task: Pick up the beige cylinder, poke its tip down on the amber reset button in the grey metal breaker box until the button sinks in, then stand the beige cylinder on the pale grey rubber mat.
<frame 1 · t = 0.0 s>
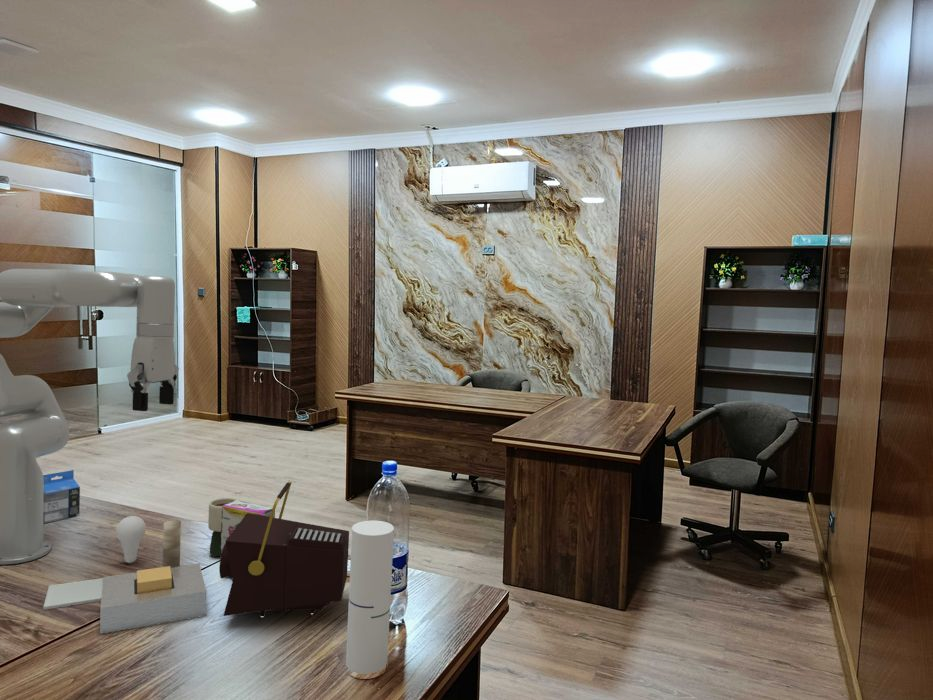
hand: (153, 407, 139), 37 cm above the table, tool pointing down, fingers open, 9 cm apart
candy bar box: (246, 577, 140), on the table
character mug: (223, 554, 151), on the table
dark brown boxy piece: (286, 609, 127), on the table
lightbulb: (130, 563, 144), on the table
mat: (75, 594, 127), on the table
cylindrical container: (366, 668, 108), on the table
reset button: (154, 581, 123), point 6 cm above the table, slide at 0.0 cm
beige cylinder: (171, 574, 139), on the table
ink cartridge box: (59, 519, 169), on the table
breaker box: (153, 608, 124), on the table
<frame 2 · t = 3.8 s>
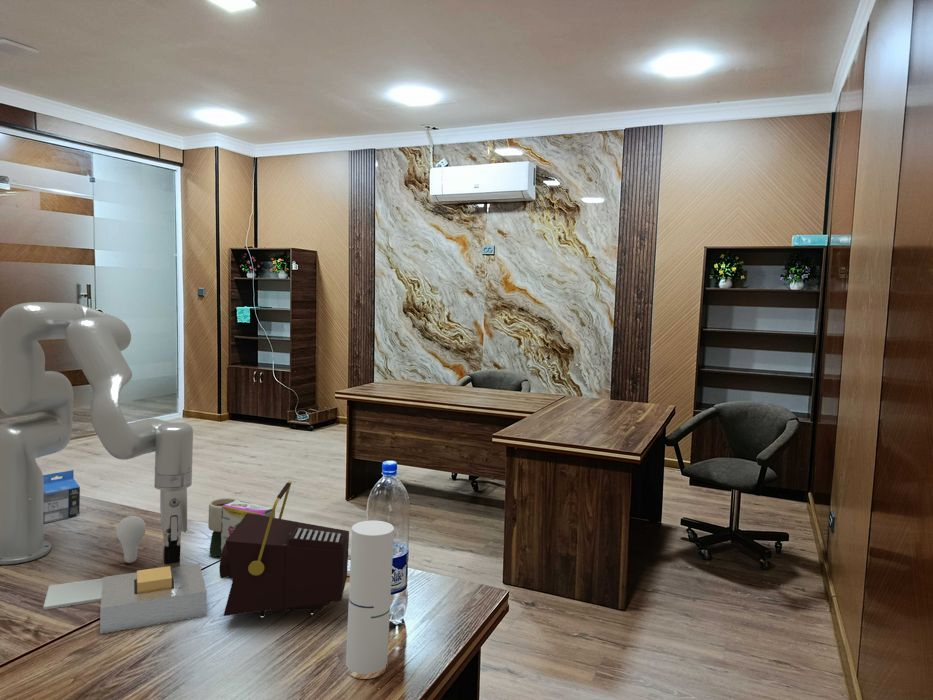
hand: (171, 558, 138), 4 cm above the table, tool pointing down, fingers closed on beige cylinder, 3 cm apart
beige cylinder: (171, 574, 139), on the table, touching gripper
everything else where it was.
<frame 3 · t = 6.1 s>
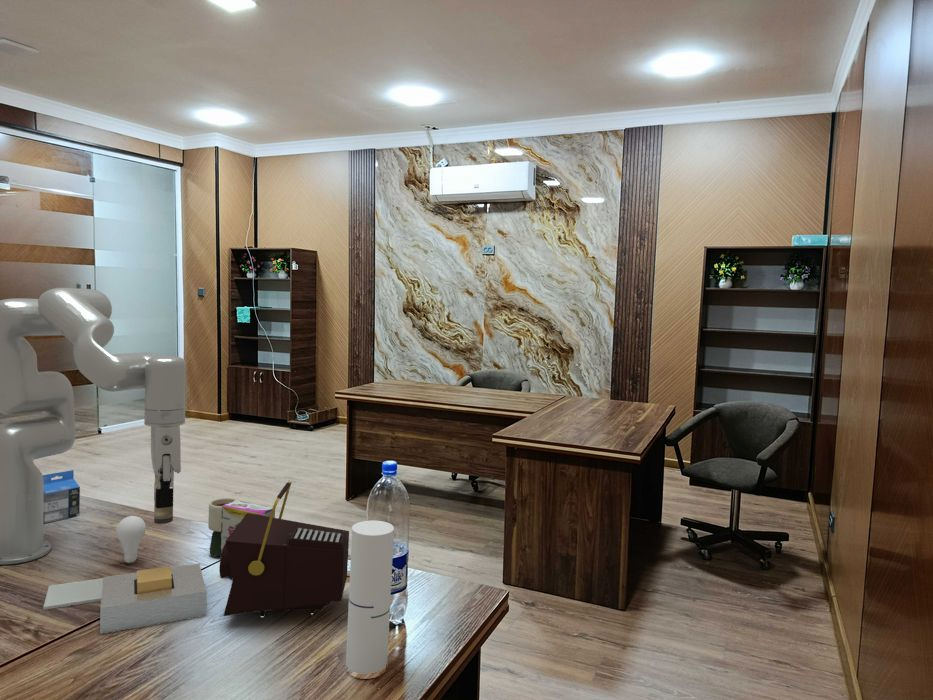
hand: (163, 503, 128), 20 cm above the table, tool pointing down, fingers closed on beige cylinder, 3 cm apart
beige cylinder: (163, 521, 128), point 16 cm above the table, touching gripper
everything else where it was.
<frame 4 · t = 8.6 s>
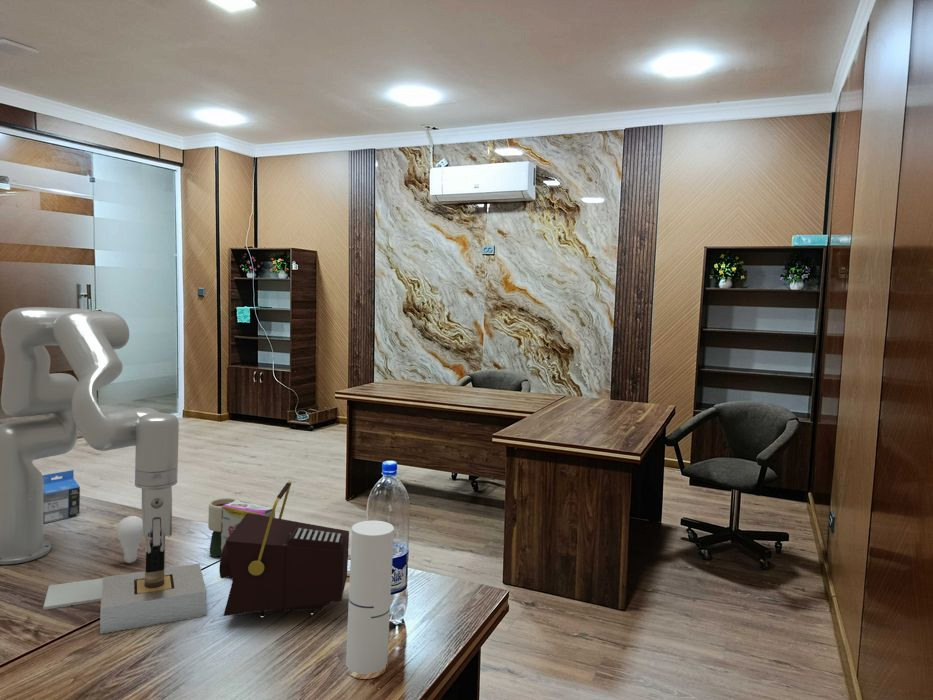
hand: (154, 565, 123), 9 cm above the table, tool pointing down, fingers closed on beige cylinder, 3 cm apart
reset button: (153, 591, 123), point 3 cm above the table, slide at 2.0 cm, touching beige cylinder
beige cylinder: (154, 584, 123), point 5 cm above the table, touching gripper, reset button
everything else where it was.
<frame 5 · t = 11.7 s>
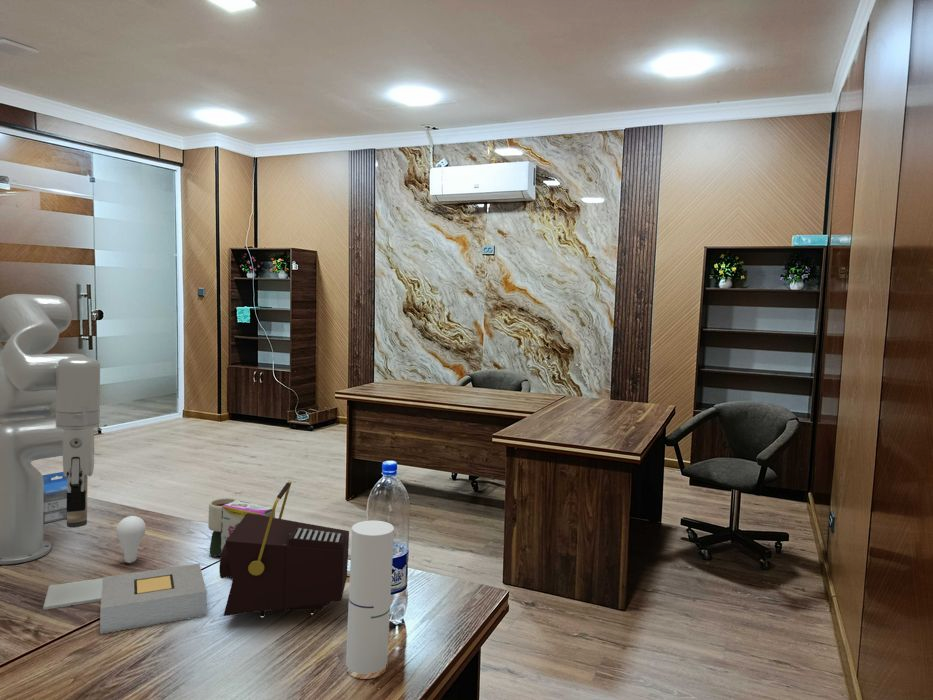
hand: (76, 506, 126), 19 cm above the table, tool pointing down, fingers closed on beige cylinder, 3 cm apart
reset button: (153, 591, 123), point 3 cm above the table, slide at 2.0 cm
beige cylinder: (76, 524, 126), point 15 cm above the table, touching gripper
everything else where it was.
when the fingers open (5 cm above the table, at t = 14.9 s): beige cylinder stays where it is, resting on mat.
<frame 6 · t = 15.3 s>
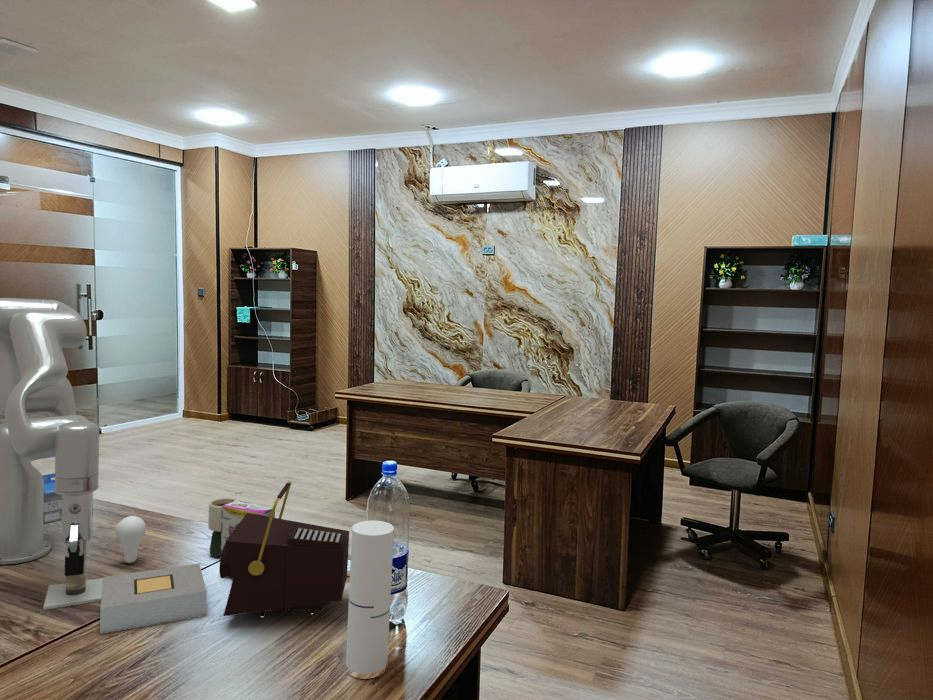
hand: (75, 565, 127), 6 cm above the table, tool pointing down, fingers open, 8 cm apart
beige cylinder: (75, 591, 127), point 1 cm above the table, touching mat
everything else where it was.
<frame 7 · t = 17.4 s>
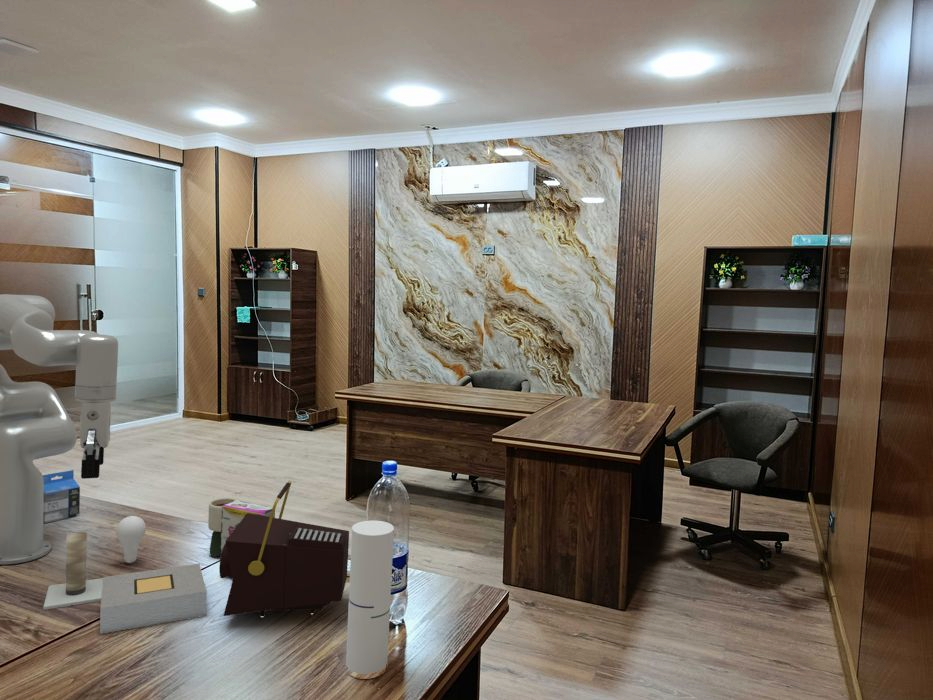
hand: (92, 471, 133), 24 cm above the table, tool pointing down, fingers open, 9 cm apart
nothing on the table moved.
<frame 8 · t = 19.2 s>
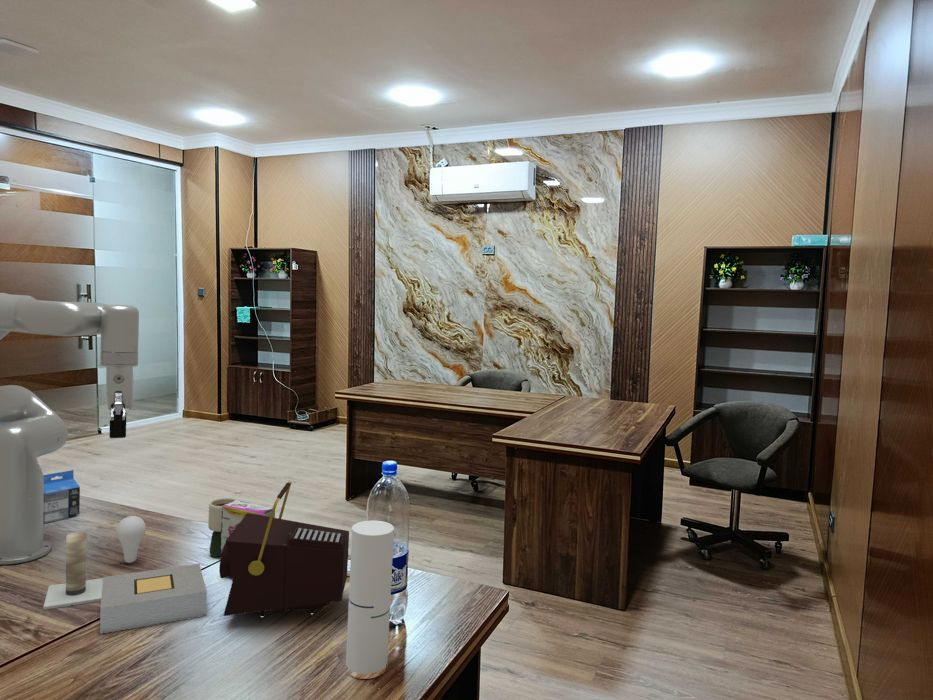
hand: (118, 433, 142), 30 cm above the table, tool pointing down, fingers open, 9 cm apart
nothing on the table moved.
at the end: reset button slide at 2.0 cm; beige cylinder inside the target area on the mat (0.0 cm from its centre), point 0.6 cm above the mat's base; beige cylinder tilted 0° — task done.
